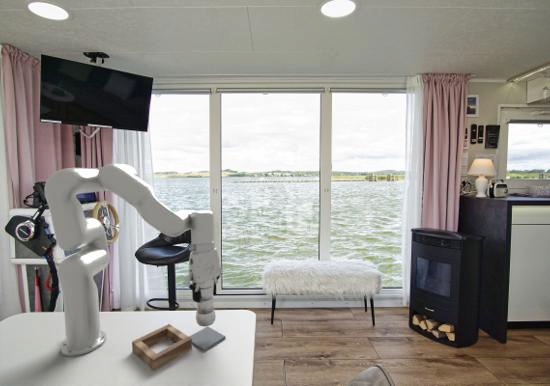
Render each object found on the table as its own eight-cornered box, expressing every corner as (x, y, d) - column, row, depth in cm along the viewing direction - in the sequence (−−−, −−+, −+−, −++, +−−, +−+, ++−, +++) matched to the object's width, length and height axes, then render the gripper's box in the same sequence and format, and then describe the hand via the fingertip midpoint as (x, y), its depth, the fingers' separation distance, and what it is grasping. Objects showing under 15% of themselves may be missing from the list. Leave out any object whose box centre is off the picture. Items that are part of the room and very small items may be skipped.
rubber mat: (186, 340, 94) (186, 337, 94) (207, 328, 101) (207, 326, 101) (204, 351, 88) (204, 349, 88) (225, 338, 95) (225, 336, 95)
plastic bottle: (211, 330, 90) (209, 271, 89) (192, 328, 91) (190, 270, 90) (218, 319, 96) (217, 265, 95) (201, 318, 98) (199, 264, 96)
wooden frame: (132, 351, 88) (132, 341, 88) (169, 333, 98) (169, 323, 98) (153, 371, 79) (153, 359, 79) (192, 348, 89) (191, 338, 89)
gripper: (187, 254, 83) (189, 311, 84) (229, 243, 96) (231, 291, 98) (174, 250, 88) (176, 304, 89) (216, 239, 101) (217, 286, 102)
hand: (204, 297), depth 93 cm, fingers closed on plastic bottle, 6 cm apart
